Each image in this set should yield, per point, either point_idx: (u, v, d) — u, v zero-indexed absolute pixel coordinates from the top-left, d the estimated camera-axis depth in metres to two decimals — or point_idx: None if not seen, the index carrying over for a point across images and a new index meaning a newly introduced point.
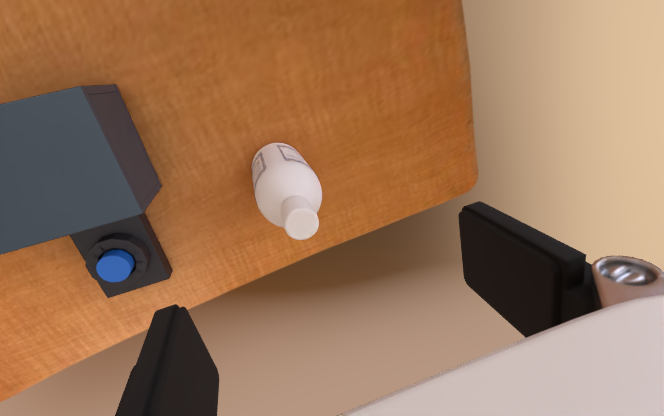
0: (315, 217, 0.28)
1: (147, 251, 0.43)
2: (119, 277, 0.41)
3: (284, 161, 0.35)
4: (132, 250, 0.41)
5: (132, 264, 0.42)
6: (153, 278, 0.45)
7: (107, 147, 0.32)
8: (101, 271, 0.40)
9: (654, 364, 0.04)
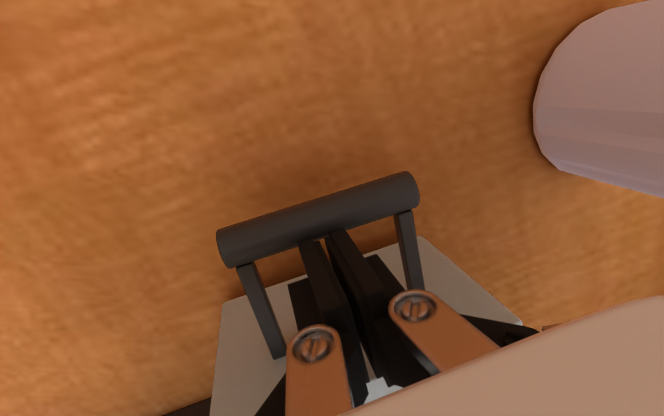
0: None
1: None
2: None
3: None
4: None
5: None
6: None
7: None
8: None
9: (654, 364, 0.04)
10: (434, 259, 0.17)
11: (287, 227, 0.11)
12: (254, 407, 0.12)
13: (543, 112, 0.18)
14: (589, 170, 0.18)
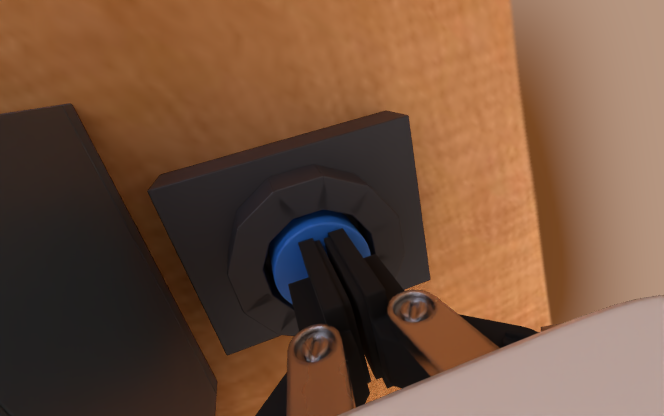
0: None
1: (296, 172, 0.12)
2: None
3: None
4: (276, 218, 0.11)
5: (320, 212, 0.12)
6: (396, 164, 0.14)
7: None
8: None
9: (654, 364, 0.04)
10: None
11: None
12: None
13: None
14: None
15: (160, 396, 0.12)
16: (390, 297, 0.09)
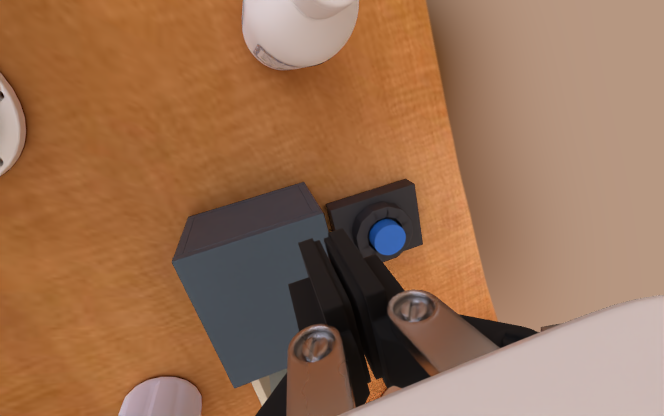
0: None
1: (377, 204, 0.37)
2: (401, 235, 0.36)
3: (244, 8, 0.20)
4: (372, 219, 0.36)
5: (388, 221, 0.36)
6: (410, 200, 0.39)
7: (241, 242, 0.28)
8: (390, 250, 0.37)
9: (654, 364, 0.04)
10: None
11: None
12: None
13: (199, 398, 0.42)
14: (175, 395, 0.39)
15: None
16: (390, 297, 0.09)
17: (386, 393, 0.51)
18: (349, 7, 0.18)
